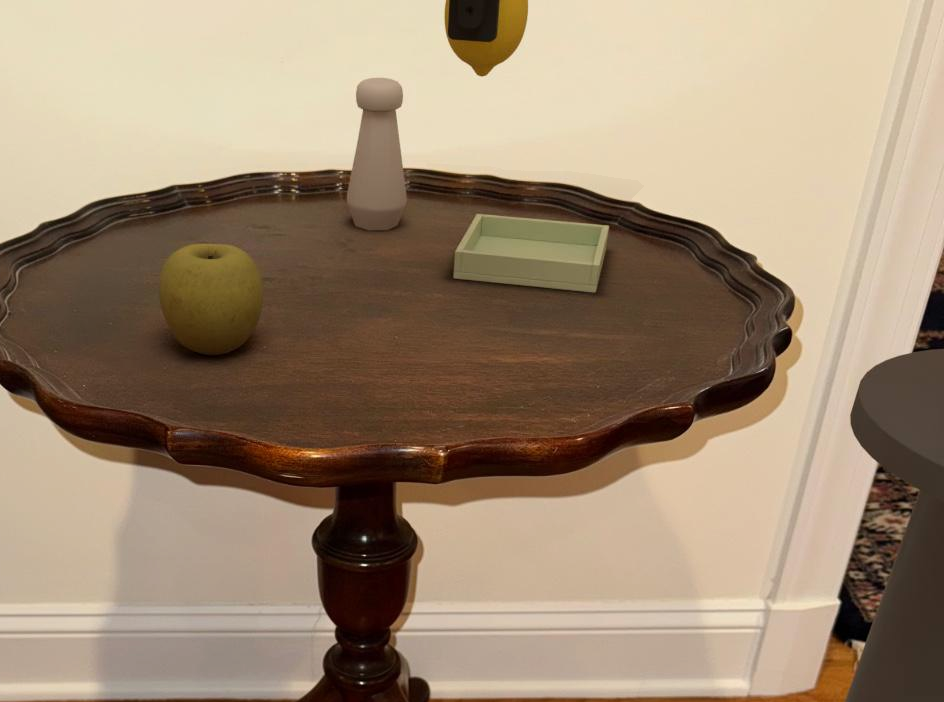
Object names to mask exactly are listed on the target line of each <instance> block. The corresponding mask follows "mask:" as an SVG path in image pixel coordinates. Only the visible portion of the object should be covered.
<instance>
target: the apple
mask: <svg viewBox="0 0 944 702" xmlns="http://www.w3.org/2000/svg"><path fill="white" fill-rule="evenodd" d="M158 297H159V298H158V299H159V305H160V307H161V311H162V314H163V317H164V319H165V322H166V324H167V326H168V328H169V330H170V332H171V333H172V335H173V337H174V339H176V340H177V342H178V343H180V344H181V345H182V346H183V347H184V348H186V349H188V350H190V351H192V352H194V353H199V354H201V355H206V356H221V355H225V354H228V353H231V352H234V351H235V350H237V349H238V348H239V347H241V346H242V345H243V344H244V343H246V341H247V340H248V339H249V338H250V336H251V335H252V333H253V332H254V331H255V329H256V328H257V326H258V324H259V321H260V318H261V315H262V310H263V305H264V284H263V279H262V275H261V272H260V270H259V268H258V266H257V265H256V262H255V261H254V259H253V258H252V257H251V256H250V255H249V254H248V253H246V252H245V251H244V250H243V249H241V248H239V247H236V246H234V245H231V244H223V243H222V244H221V243H193V244H189V245H186V246H183V247H181V248H178V249H177V250H175V251H174V252H173V253H172V254H171V255H170V256H169V257H168V258H167V260H166V261H165V263H164V265H163V267H162V269H161V272H160V275H159V281H158Z"/></svg>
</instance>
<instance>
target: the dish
mask: <svg viewBox="0 0 944 702" xmlns="http://www.w3.org/2000/svg"><path fill="white" fill-rule="evenodd" d="M609 231H610V225H606V224H603V225H602V224H597V223H595V224H594V223H583V222H573V221H562V220H550V219H540V218H531V217H530V218H529V217H519V216H518V217H517V216H506V215H497V214H496V215H494V214H484V213H483V214H482V213H476V214H475V216H474V218H473V220H472V222H471V223H470V225H469V226H468V228H467V230H466V232H465V234H464V235H463V237H462V239H461V241H460V242H459V244H458V246H457V247H456V249H455V251H454V263H453V275H452V276H453V279H456V280H463V281H464V280H466V281H475V282H485V283H495V284H505V285H514V286H524V287H533V288H543V289H554V290H564V291H574V292H582V293H583V292H584V293H594V294H596V293H597V290H598V289H597V288H598V284H599V280H600V276H601V272H602V268H603V264H604V260H605V257H606V256H605V255H606V251H607V245H608V237H609Z"/></svg>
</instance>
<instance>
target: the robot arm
mask: <svg viewBox="0 0 944 702" xmlns="http://www.w3.org/2000/svg"><path fill="white" fill-rule="evenodd" d="M499 3H500V0H449V18H448V36H449V38H450V39H452V40H465V41H479V42H491V41H493V40H495V39H496V37H497V30H498V17H499Z"/></svg>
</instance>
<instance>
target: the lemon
mask: <svg viewBox="0 0 944 702" xmlns="http://www.w3.org/2000/svg"><path fill="white" fill-rule="evenodd" d="M528 15H529V0H500V3H499V17H498V30H497V37H496V39H495V40H493V41H491V42H479V41H465V40H452V39H450V38H449V36H448V18H449V0H445V4H444V17H443V18H444V29H445V35H446V39H447V42H448V44H449V47H450V48H451V50H452V51H453V53H454V54H455V56H456V57H457V58H458V59H459V60H460V61H462V62H463V63H465V64H466V65H468V66H470V67H471V69H472V70H473V72H474V73H475V75H476V76H478V77H486V76H488V74H490V72H491V71H492V70H494V67H497V65H500V64H502V63H504V62H505V61H507V60H508V59H509V58H510V57H511V56H512V55H513V54H514V53H515V52H516V50H517V49H518V47H519V46H520V45H521V43H522V40H523V37H524V35H525V32H526V27H527V22H528Z"/></svg>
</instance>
